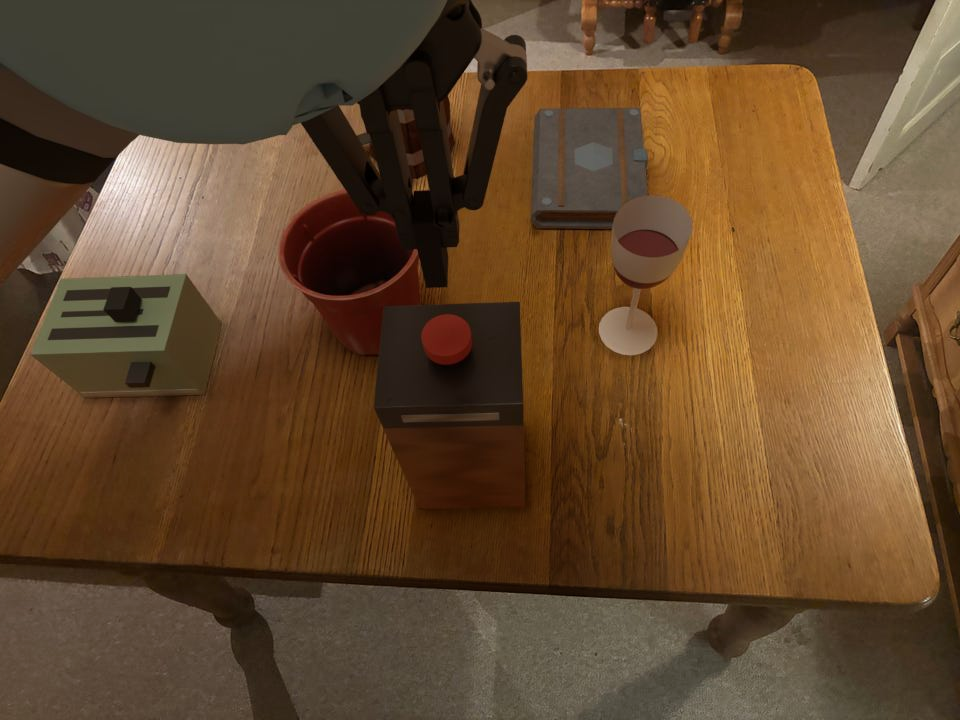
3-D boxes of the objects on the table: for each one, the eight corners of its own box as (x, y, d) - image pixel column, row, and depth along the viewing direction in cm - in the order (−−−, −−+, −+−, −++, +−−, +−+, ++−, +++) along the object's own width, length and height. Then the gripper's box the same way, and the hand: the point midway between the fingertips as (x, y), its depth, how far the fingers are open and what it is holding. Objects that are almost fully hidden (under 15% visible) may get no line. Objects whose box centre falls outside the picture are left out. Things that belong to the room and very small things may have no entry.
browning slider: (115, 322, 77) (102, 309, 75) (122, 300, 79) (110, 287, 77) (135, 321, 77) (123, 308, 75) (142, 299, 79) (130, 286, 77)
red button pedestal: (419, 510, 75) (373, 409, 53) (423, 429, 80) (383, 305, 58) (524, 508, 74) (523, 405, 52) (522, 426, 80) (519, 301, 57)
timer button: (422, 365, 53) (420, 356, 52) (424, 324, 55) (422, 314, 54) (472, 364, 53) (470, 355, 52) (472, 322, 55) (471, 313, 54)
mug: (450, 114, 109) (439, 29, 96) (460, 172, 102) (450, 89, 89) (332, 131, 109) (306, 48, 96) (334, 190, 102) (305, 110, 89)
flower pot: (306, 371, 85) (264, 299, 72) (327, 270, 94) (292, 188, 80) (432, 372, 84) (413, 299, 70) (442, 270, 92) (427, 186, 79)
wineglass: (584, 340, 85) (597, 237, 68) (617, 294, 89) (638, 184, 71) (639, 369, 83) (668, 269, 65) (671, 320, 86) (706, 213, 69)
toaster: (77, 417, 84) (20, 375, 75) (109, 327, 91) (60, 278, 82) (200, 414, 83) (157, 371, 74) (222, 323, 90) (186, 273, 81)
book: (534, 130, 106) (534, 103, 101) (639, 129, 104) (643, 103, 100) (530, 230, 95) (530, 205, 91) (647, 231, 94) (652, 206, 89)
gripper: (528, -160, 27) (529, 227, 48) (220, -137, 28) (350, 234, 48) (535, -62, 23) (532, 313, 44) (179, -38, 24) (339, 320, 45)
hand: (437, 271), depth 46 cm, fingers closed
